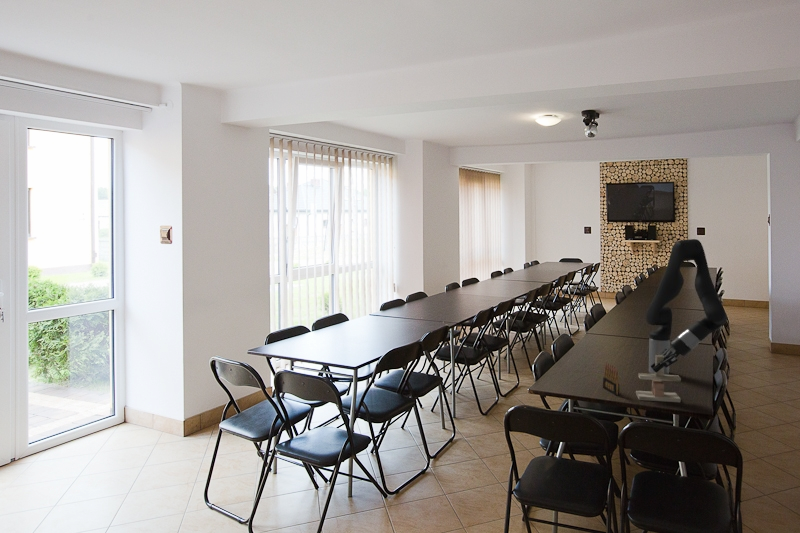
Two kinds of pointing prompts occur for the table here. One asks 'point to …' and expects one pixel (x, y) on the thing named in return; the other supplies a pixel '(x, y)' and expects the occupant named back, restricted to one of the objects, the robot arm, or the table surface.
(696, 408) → the table surface
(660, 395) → the stand
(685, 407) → the table surface
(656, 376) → the maple T-beam
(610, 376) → the ammunition clip
